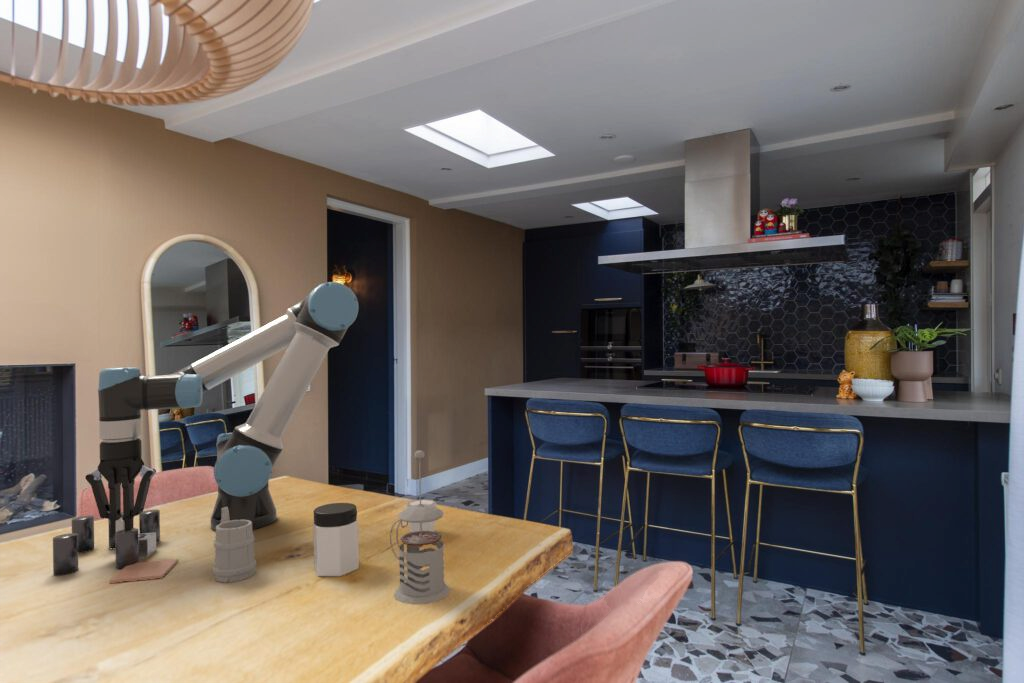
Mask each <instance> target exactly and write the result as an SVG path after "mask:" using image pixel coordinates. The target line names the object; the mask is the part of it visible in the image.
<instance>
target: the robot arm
mask: <svg viewBox="0 0 1024 683" xmlns="http://www.w3.org/2000/svg"><path fill="white" fill-rule="evenodd" d="M359 307H360V306H359V300H358V298H357V296H356V294H355V293H354V292H353V290H352V289H351V288H350V287H348V286H347V285H345V284H343V283H342V282H341V283H340V282H335V281H328V282H323V283H320V284H318V285H317V286H315V287H314V289H312V290H311V292H309V294H308V295H306V297H304V298H303V299H302V300H301V301H299V302H297V303H296V304H294V305H293V306H290V307H289V308H287V310H286V313H285V314H284V315H282V316H280V317H278V318H276V319H274V320H273V321H270V322H268V323H267V324H265V325H262V326H261V327H259V328H257V329H255V330H253V331H252V332H249V333H248V334H245V335H243V336H242V337H240V338H238V339H236V340H234V341H233V342H231V343H229V344H227V345H225V346H223V347H221V348H218V349H217V350H214V352H211V353H210V354H208V355H206V356H204V357H203V358H200V359H198V360H196V361H195V362H192V363H191V364H189V365H186V366H184V367H183V368H181V369H179V370H177V371H175V372H172V374H164V375H163V374H162V375H161V374H160V375H142V373H141V370H140V368H139V367H136V366H134V367H133V366H132V367H131V366H130V367H129V366H128V367H126V366H125V367H106V368H103V369H102V370H100V372H99V374H98V376H99V378H98V388H97V392H98V393H97V394H98V413H99V414H98V417H99V418H98V421H99V422H98V424H99V425H98V428H99V429H98V430H99V431H98V432H99V433H98V434H99V435H98V437H99V438H98V439H99V440H101V442H100V443H99V464H98V465H97V469H96V470H94V471H93V472H91V473H89V474H86V475H85V477H84V478H85V480H86V481H87V483H88V484H89V485H90V487H91V490H92V494H93V497H94V501H95V504H96V507H97V510H98V514H99V517H100V518H101V519H106V520H108V519H109V520H110V521H111V534H112V535H115V533H116V532H117V531H120V530H124V529H131V528H134V518H135V517H137V516H139V514H140V513H142V512H143V511H145V506H146V502H147V497H148V493H149V489H150V484H151V481H152V479H153V478H154V477H155V476H154V475H155V474H156V473H157V470H156V469H155V468H149V467H148V466H146V465H145V462H144V461H143V458H142V453H143V451H142V449H143V448H142V439H141V438H140V437H141V435H142V411H150V410H168V409H169V410H170V409H172V410H173V409H183V410H185V409H189V408H197V407H200V406H201V405H202V404H203V396H204V395H203V394H204V393H206V392H208V391H209V390H211V389H213V388H215V387H216V386H219V385H220V384H222V383H224V382H226V381H228V380H230V379H231V378H233V377H235V376H237V375H239V374H241V373H242V372H244V371H247V370H248V369H249V368H251V367H253V366H255V365H257V364H259V363H260V362H262V361H264V360H266V359H269V358H270V357H272V356H274V355H275V354H277V353H279V352H281V351H283V350H284V349H286V348H287V349H286V351H285V352H284V354H283V355H282V358H281V360H280V361H279V363H278V364H277V366H276V369H275V370H274V372H273V374H272V375H271V377H270V378H269V381H268V383H267V384H266V386H265V388H264V390H263V392H262V393H261V395H260V397H259V399H258V400H257V402H256V404H255V406H254V408H253V410H252V411H251V412H250V414H249V417H248V418H247V420H246V421H245V423H242V424H239V425H237V426H235V427H234V429H233V431H232V432H228V433H227V432H226V433H225V432H224V433H220V434H219V435H217V439H216V443H215V446H216V451H217V452H216V454H217V455H216V461H215V463H214V466H213V467H214V468H213V477H214V480H215V483H216V484H217V499H216V502H215V503H214V506H213V510H212V512H211V515H210V529H211V530H213V531H215V532H216V526H217V525H219V524H220V522H221V514H222V511H221V508H224V507H228V510H229V518H230V521H232V520H250V521H251V522H252V530H255V529H259V528H263V527H266V526H268V525H271V524H273V523H274V522H276V521H277V517H278V516H277V508H276V505H275V503H274V500H273V497H272V495H271V492H270V489H269V488H270V487H269V485H270V484H269V482H270V479H271V477H272V473H273V468H274V466H275V464H276V462H277V460H278V458H279V456H280V455H281V452H282V450H283V449H284V445H283V443H282V437H283V436H284V433H285V431H286V430H287V427H288V426H289V425H290V422H291V421H292V419H293V417H294V415H295V413H296V411H297V409H298V408H299V406H300V404H301V402H302V401H303V398H304V396H305V395H306V393H307V391H308V389H309V387H310V385H311V383H312V382H313V380H314V378H315V376H316V374H317V372H318V370H319V369H320V366H321V365H322V364H323V361H324V360H325V358H326V356H327V354H328V352H329V350H330V349H331V348H334V347H337V346H339V345H340V343H341V341H342V340H343V338H344V336H345V334H346V332H347V330H348V328H349V327H350V326H351V325H353V324H354V322H355V321H356V319H357V316H358V313H359ZM139 474H140V477H141V479H140V482H139V486H138V490H137V493H136V494H137V495H136V499H135V490H134V488H135V479H136V478H137V477H138V475H139ZM102 478H104V479H105V481H107V488H108V492H109V493H108V494H109V495H108V496H107V491H106V489H105V486H104V482H103V480H102ZM121 488H122V492H121ZM121 493H122V494H121ZM121 495H122V498H121ZM108 497H109V499H108ZM121 499H122V502H121ZM121 504H122V505H121ZM121 506H122V508H121ZM122 509H123V510H122ZM122 512H123V517H121V518H120V516H122V514H121V513H122Z"/></svg>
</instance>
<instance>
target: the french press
mask: <svg viewBox="0 0 1024 683" xmlns="http://www.w3.org/2000/svg"><path fill="white" fill-rule="evenodd" d="M413 457H414V458H417V459H418V467H419V468H418V469H419V470H418V474H419V475H418V477H419V478H418V480H419V500H420V504H418V505H413V506H411V507H408V508H407V507H406V508H404V509H402V510H401V511H400V512H398V514H397V516H396V517H397V518H398V520H397V521H395V522H394V523H393V524H392V526H391V527H390V528H391V529H390V530H389V531H390V532H389V544H390V548H391V551H392V553H393V555H394V557H396V559H397V560H399V562H398V565H399V566H398V568H399V570H398V572H399V587H397V589H396V590H395V592H394V596H393V597H394V598H395V599H396V601H397V600H398V601H399V602H402V603H405V604H410V605H422V604H424V605H425V604H429V603H434V602H438V601H439V600H441V599H444V598H446V597H447V596H448V595H449V594H450V592H451V588H450V586H448V585H447V584H446V583H445V580H444V579H445V573H444V572H445V566H444V564H445V560H444V555H445V554H444V542H442V541H441V539H442V536H443V535H442V534H441V533H439V532H437V531H433V532H432V531H422V523H426V522H432V521H435V522H436V521H438V520H440V519H441V518H443V516H444V511H443V510H442V509H440V508H438V507H437V506H436V507H435V506H432V505H427V504H421V500H422V486H421V484H422V482H421V480H422V479H421V475H422V474H421V458H424V457H425V452H424V451H423V450H418V449H417V450H416V451H415V452H414V453H413ZM403 522H405V523H406V524H405V525H403ZM409 522H410V523H420V531H414V532H410V531H409V532H408V533H405V534H403V535H402V536H401V537H400V541H401V542H402V543H401V544H399V538H398V537H399V534H398V532H399V527H401V528H402V529H404V528H406V527H408V526H409ZM397 523H398V524H397ZM396 524H397V526H396V531H395V533H396V537H395V538H396V539H395V540H396V543H397V547H398V555H397V553H396V552H395V551H394V548H393V544H392V533H393V529H394V527H395V525H396ZM405 545H406V552H405ZM428 545H432V546H435V547H436V548H437V549H436V548H432V547H427V548H423V549H421V550H420V548H421V547H423V546H428ZM405 560H406V562H405ZM424 567H428V568H426V569H423V568H424ZM405 568H406V569H405ZM405 575H406V576H405Z"/></svg>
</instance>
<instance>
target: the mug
mask: <svg viewBox="0 0 1024 683" xmlns="http://www.w3.org/2000/svg"><path fill="white" fill-rule="evenodd" d="M221 511H222V514H221V522H220V524H219V525H217V526H216V531H215V540H214V541H213V546H214V547H213V548H214V553H215V554H214V557H215V558H214V564H213V567H212V574H213V575H214V580H215V579H216V580H215V581H217V582H219V581H221V583H234V582H233V581H235V582H239V581H238V580H240V581H242V580H246V579H248V578H251V577H252V576H253V575H254V574H256V567H257V559H256V558H255V552H254V550H255V549H254V543H255V540H256V539H255V535H254V532H253V531H254V530H253V529H252V522H251V521H250V520H232V521H230V518H229V510H228V507H224V508H221ZM252 574H253V575H252ZM228 581H229V582H228Z"/></svg>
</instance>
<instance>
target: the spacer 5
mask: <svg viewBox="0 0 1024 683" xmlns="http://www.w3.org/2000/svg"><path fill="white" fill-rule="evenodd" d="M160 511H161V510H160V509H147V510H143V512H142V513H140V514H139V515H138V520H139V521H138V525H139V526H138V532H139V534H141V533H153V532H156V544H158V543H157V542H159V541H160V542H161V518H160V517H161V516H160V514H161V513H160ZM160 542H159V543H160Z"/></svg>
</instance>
